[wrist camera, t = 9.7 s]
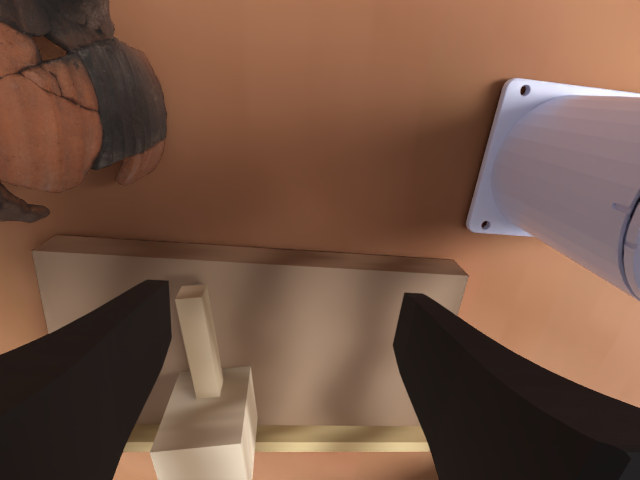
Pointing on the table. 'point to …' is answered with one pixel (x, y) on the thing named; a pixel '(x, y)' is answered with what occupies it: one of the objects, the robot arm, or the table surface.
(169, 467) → the wooden mallet
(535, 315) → the table surface
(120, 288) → the walnut board
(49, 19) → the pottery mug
